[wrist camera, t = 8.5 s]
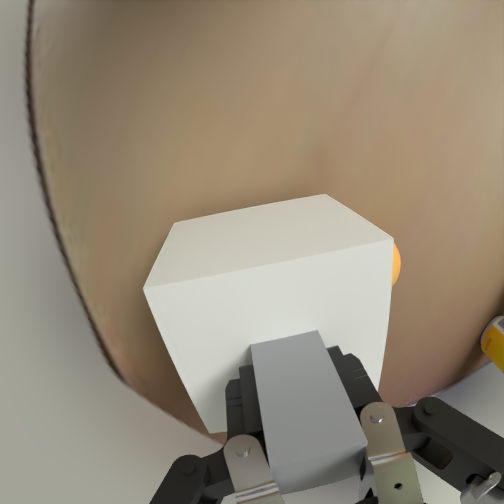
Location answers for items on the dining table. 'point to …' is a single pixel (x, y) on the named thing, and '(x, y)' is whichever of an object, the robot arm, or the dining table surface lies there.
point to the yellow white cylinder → (494, 341)
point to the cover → (278, 323)
